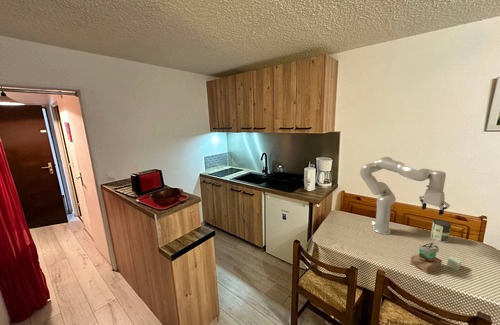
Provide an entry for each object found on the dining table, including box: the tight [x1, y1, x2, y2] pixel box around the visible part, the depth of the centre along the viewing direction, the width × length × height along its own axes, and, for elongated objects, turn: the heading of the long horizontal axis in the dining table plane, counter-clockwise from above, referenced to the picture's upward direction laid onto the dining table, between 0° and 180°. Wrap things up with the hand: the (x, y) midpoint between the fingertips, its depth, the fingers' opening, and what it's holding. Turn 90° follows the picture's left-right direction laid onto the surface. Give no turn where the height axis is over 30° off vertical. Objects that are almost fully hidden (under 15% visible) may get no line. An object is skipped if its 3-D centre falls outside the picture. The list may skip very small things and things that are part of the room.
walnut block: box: [410, 253, 443, 274], centre depth 124 cm, size 9×14×5 cm, turn 109°
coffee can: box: [430, 218, 452, 244], centre depth 149 cm, size 10×10×14 cm
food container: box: [418, 241, 440, 262], centre depth 121 cm, size 12×6×10 cm, turn 108°
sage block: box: [446, 255, 462, 271], centre depth 122 cm, size 5×5×5 cm
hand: (431, 211), depth 136 cm, fingers open, 9 cm apart
